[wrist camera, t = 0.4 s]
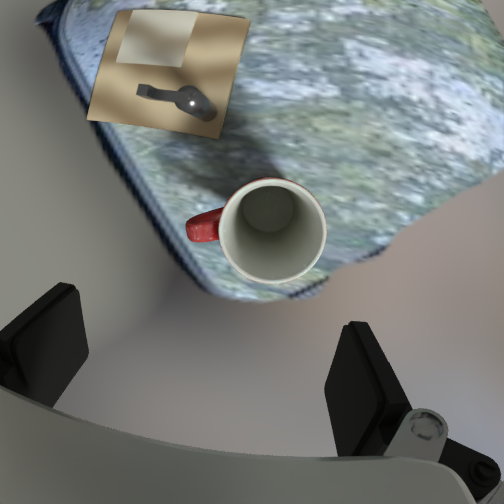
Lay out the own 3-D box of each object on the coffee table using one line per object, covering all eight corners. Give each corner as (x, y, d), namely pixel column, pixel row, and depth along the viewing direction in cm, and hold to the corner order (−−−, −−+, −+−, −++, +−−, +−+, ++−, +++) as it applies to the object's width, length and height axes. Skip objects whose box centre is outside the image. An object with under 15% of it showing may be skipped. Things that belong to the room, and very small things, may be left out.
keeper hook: (177, 97, 33) (140, 75, 21) (219, 103, 33) (199, 82, 22) (172, 115, 34) (133, 102, 22) (214, 123, 34) (192, 110, 22)
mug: (305, 168, 37) (328, 177, 24) (305, 239, 40) (325, 282, 27) (201, 171, 37) (170, 183, 24) (206, 242, 40) (181, 286, 27)
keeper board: (122, 14, 30) (117, 10, 28) (250, 23, 31) (249, 18, 29) (92, 120, 35) (85, 119, 33) (219, 139, 36) (217, 139, 34)
